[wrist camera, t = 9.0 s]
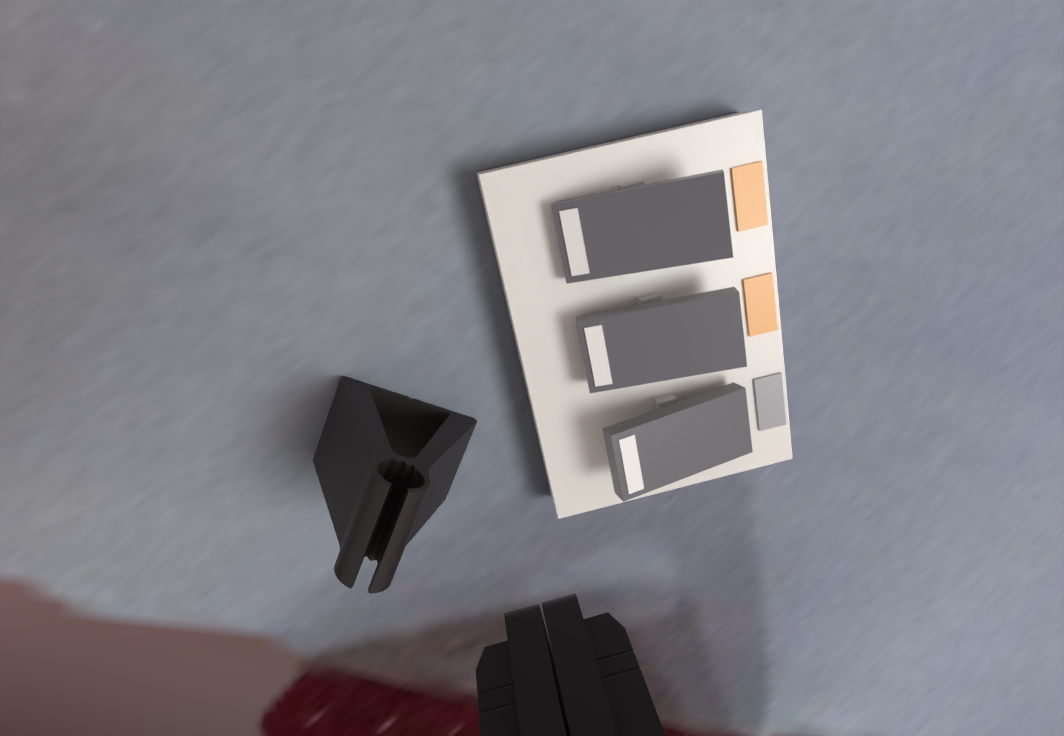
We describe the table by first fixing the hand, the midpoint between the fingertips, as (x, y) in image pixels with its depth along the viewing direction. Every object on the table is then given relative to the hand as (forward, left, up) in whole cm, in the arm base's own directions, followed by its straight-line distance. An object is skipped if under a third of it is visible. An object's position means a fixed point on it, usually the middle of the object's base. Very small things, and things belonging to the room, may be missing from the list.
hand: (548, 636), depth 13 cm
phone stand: (+7, -7, -30) cm, 31 cm away
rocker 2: (+3, +10, -25) cm, 27 cm away
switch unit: (+3, +10, -30) cm, 31 cm away
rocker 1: (-3, +10, -25) cm, 27 cm away
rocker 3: (+10, +10, -25) cm, 29 cm away
